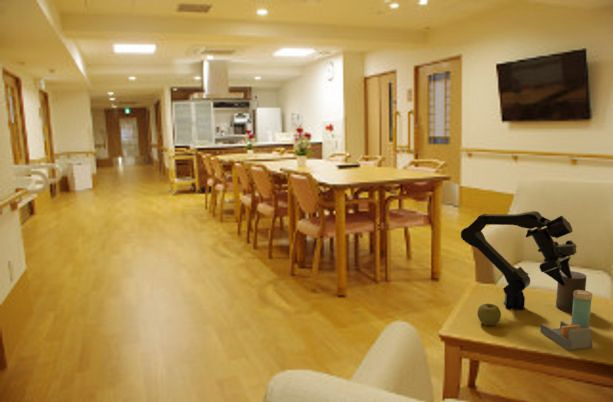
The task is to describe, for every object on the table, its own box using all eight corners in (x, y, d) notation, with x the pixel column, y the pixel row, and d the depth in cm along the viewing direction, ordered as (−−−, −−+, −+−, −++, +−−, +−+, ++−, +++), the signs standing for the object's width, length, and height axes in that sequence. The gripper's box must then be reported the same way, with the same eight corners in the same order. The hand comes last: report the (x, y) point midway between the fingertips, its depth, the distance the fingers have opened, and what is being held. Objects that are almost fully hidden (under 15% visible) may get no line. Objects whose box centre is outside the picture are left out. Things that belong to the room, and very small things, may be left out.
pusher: (560, 340, 163) (561, 326, 162) (576, 338, 164) (578, 324, 163) (562, 341, 162) (563, 327, 161) (579, 339, 163) (580, 325, 162)
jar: (573, 330, 171) (576, 295, 169) (568, 323, 177) (571, 289, 175) (591, 331, 170) (594, 296, 168) (586, 324, 176) (588, 290, 173)
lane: (540, 331, 171) (541, 314, 170) (561, 329, 173) (563, 311, 171) (568, 350, 157) (570, 331, 156) (592, 347, 159) (593, 329, 158)
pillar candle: (581, 314, 184) (585, 276, 181) (553, 309, 190) (556, 272, 187) (585, 306, 191) (588, 270, 189) (558, 301, 197) (561, 265, 195)
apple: (497, 330, 173) (498, 311, 172) (474, 325, 177) (475, 307, 176) (502, 322, 179) (503, 304, 178) (479, 318, 183) (480, 300, 182)
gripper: (559, 240, 169) (582, 281, 166) (573, 229, 183) (595, 267, 180) (529, 251, 176) (552, 291, 173) (545, 240, 190) (566, 277, 187)
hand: (567, 281), depth 178 cm, fingers open, 9 cm apart
